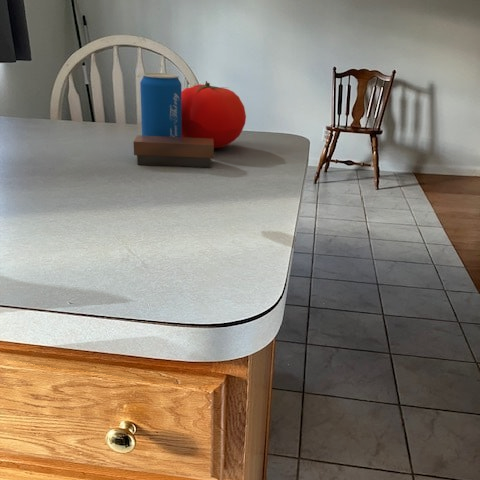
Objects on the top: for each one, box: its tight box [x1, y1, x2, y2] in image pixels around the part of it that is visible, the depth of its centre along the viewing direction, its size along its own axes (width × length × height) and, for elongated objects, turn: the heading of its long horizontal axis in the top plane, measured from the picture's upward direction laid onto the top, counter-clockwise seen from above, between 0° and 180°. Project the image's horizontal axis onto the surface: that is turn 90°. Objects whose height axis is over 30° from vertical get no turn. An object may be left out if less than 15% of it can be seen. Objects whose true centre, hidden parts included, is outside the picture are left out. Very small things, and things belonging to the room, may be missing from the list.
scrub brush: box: [133, 134, 215, 168], centre depth 84 cm, size 12×5×4 cm, turn 93°
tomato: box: [181, 80, 247, 149], centre depth 94 cm, size 13×12×11 cm
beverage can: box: [139, 72, 182, 137], centre depth 88 cm, size 6×6×12 cm
